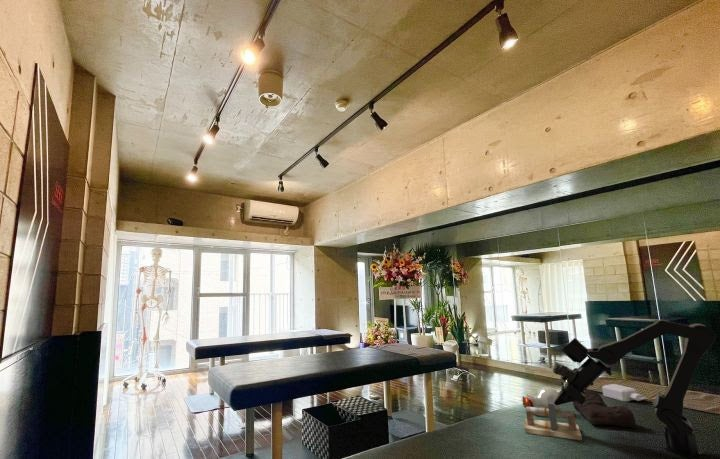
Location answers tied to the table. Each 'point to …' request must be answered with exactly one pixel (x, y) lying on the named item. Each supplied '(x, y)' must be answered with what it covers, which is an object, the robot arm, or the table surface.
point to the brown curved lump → (604, 411)
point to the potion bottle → (541, 398)
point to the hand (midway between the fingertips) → (555, 404)
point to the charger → (621, 393)
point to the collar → (552, 413)
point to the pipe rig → (545, 427)
